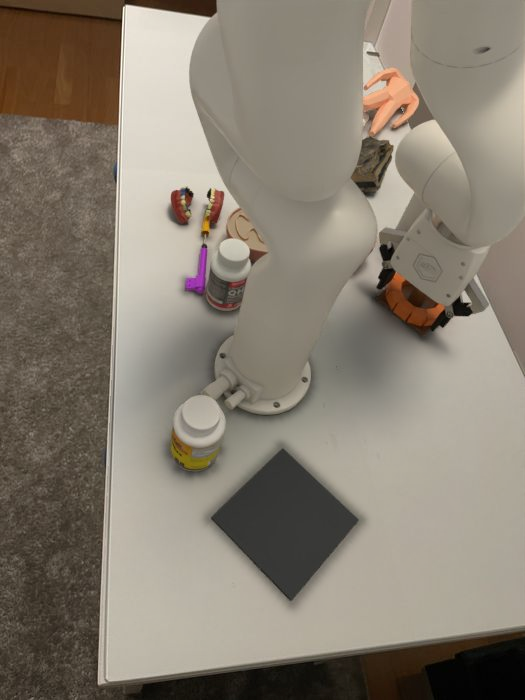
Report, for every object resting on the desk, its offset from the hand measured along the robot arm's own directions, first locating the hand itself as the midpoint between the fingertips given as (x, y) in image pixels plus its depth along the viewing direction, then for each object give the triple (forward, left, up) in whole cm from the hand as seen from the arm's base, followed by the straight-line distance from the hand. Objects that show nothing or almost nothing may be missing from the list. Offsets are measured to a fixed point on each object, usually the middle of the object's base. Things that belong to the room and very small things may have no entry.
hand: (409, 304), depth 80 cm
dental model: (-8, +31, +1) cm, 31 cm away
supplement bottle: (-38, +5, -3) cm, 38 cm away
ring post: (+3, 0, -3) cm, 4 cm away
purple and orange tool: (-16, +27, -2) cm, 32 cm away
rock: (+18, +28, +2) cm, 33 cm away
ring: (+3, 0, -2) cm, 4 cm away
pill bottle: (-19, +19, -3) cm, 27 cm away
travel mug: (+11, +7, -3) cm, 14 cm away
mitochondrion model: (-4, +18, -3) cm, 19 cm away
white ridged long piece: (+29, +33, -2) cm, 44 cm away
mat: (-36, -8, -3) cm, 36 cm away
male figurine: (+26, +30, +2) cm, 40 cm away
